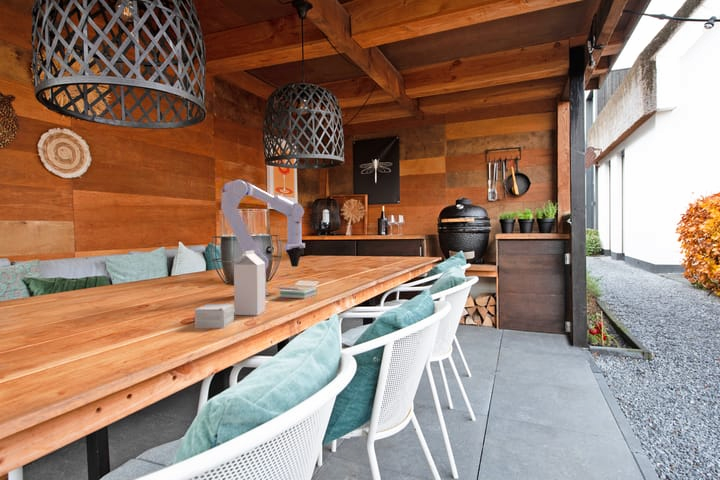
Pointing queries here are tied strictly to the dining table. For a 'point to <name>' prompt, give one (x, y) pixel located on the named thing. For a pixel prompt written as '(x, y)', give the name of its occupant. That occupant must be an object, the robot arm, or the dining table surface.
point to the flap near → (289, 288)
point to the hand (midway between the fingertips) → (294, 266)
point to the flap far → (307, 283)
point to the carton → (298, 292)
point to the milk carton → (249, 285)
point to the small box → (214, 316)
